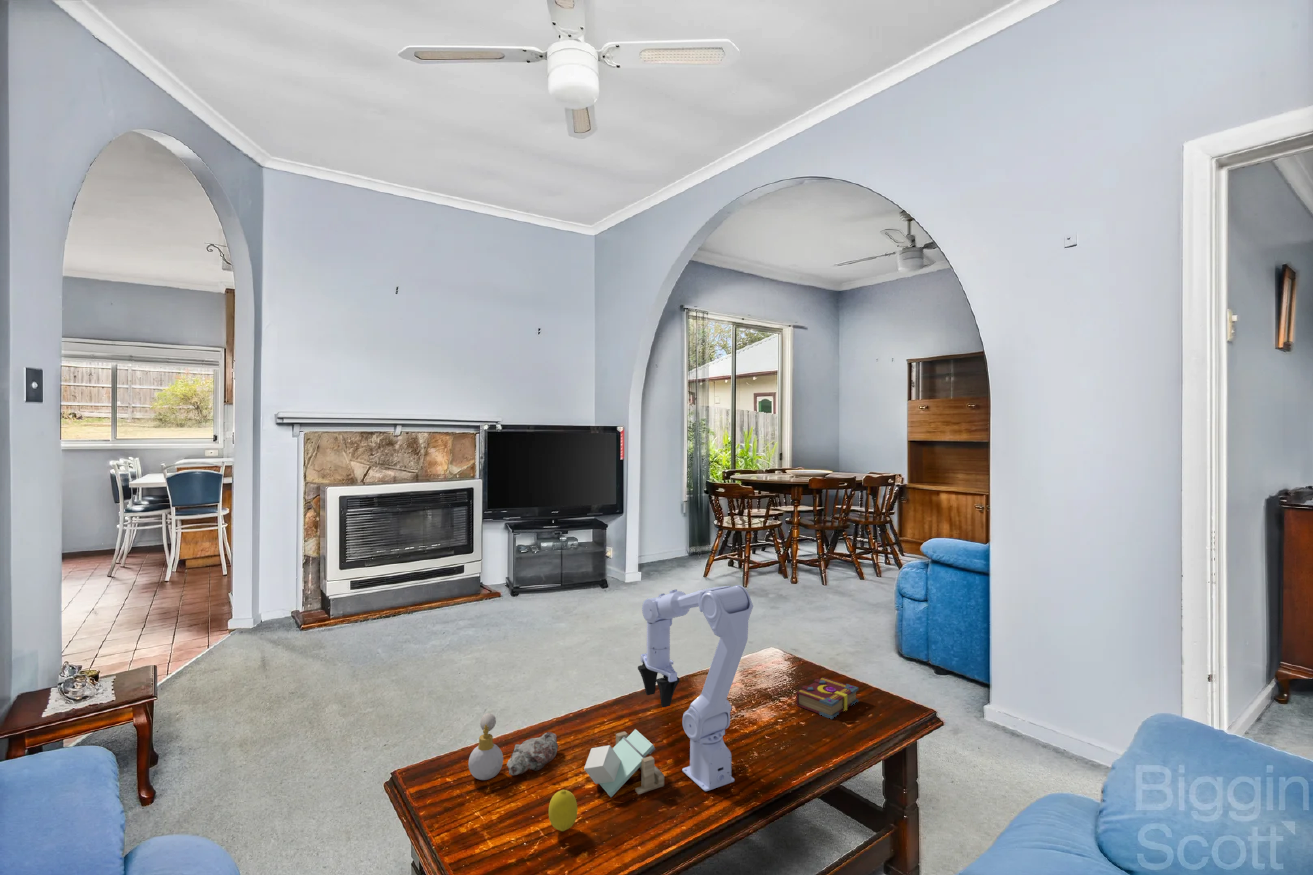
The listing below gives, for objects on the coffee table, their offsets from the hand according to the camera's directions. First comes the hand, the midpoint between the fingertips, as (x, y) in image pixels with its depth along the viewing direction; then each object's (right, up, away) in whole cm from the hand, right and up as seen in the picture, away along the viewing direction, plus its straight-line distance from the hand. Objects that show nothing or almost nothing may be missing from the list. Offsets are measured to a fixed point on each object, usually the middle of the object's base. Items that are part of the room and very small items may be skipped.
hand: (658, 699), depth 154 cm
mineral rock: (-29, -11, -10) cm, 32 cm away
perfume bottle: (-39, -11, -14) cm, 43 cm away
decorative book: (+48, -11, +22) cm, 54 cm away
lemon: (-18, -11, -34) cm, 40 cm away
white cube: (-11, -9, -17) cm, 22 cm away
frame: (-5, -11, -14) cm, 19 cm away
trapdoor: (-7, -8, -15) cm, 19 cm away
